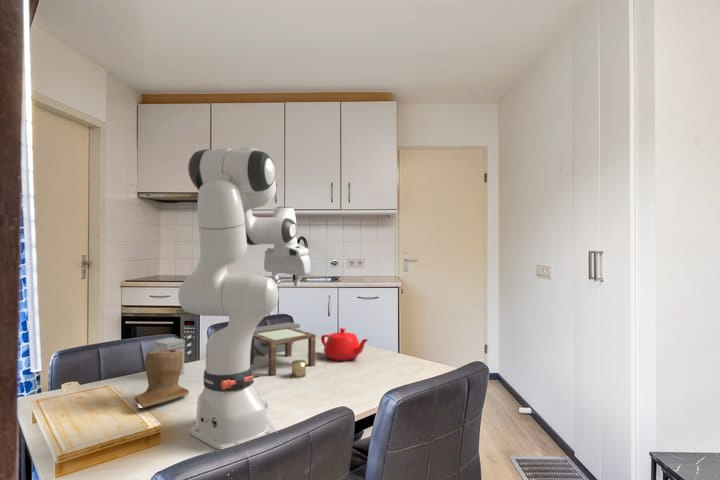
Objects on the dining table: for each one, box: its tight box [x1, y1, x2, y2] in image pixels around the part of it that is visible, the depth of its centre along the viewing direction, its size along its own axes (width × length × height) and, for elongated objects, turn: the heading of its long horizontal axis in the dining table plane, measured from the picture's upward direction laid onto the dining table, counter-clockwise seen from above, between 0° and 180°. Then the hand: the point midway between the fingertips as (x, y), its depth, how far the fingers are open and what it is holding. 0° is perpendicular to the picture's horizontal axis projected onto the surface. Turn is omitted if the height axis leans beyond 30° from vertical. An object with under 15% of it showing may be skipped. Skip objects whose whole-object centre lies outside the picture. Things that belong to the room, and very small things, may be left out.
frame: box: [250, 327, 316, 377], centre depth 152 cm, size 19×19×12 cm
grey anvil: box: [254, 321, 301, 356], centre depth 172 cm, size 25×8×11 cm, turn 135°
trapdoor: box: [257, 329, 306, 340], centre depth 152 cm, size 14×14×1 cm
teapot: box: [320, 327, 369, 362], centre depth 162 cm, size 25×16×12 cm, turn 54°
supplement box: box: [153, 337, 186, 376], centre depth 138 cm, size 7×7×13 cm
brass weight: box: [291, 359, 307, 379], centre depth 139 cm, size 5×5×5 cm
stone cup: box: [134, 349, 190, 409], centre depth 115 cm, size 15×12×15 cm
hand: (287, 284), depth 148 cm, fingers open, 8 cm apart
